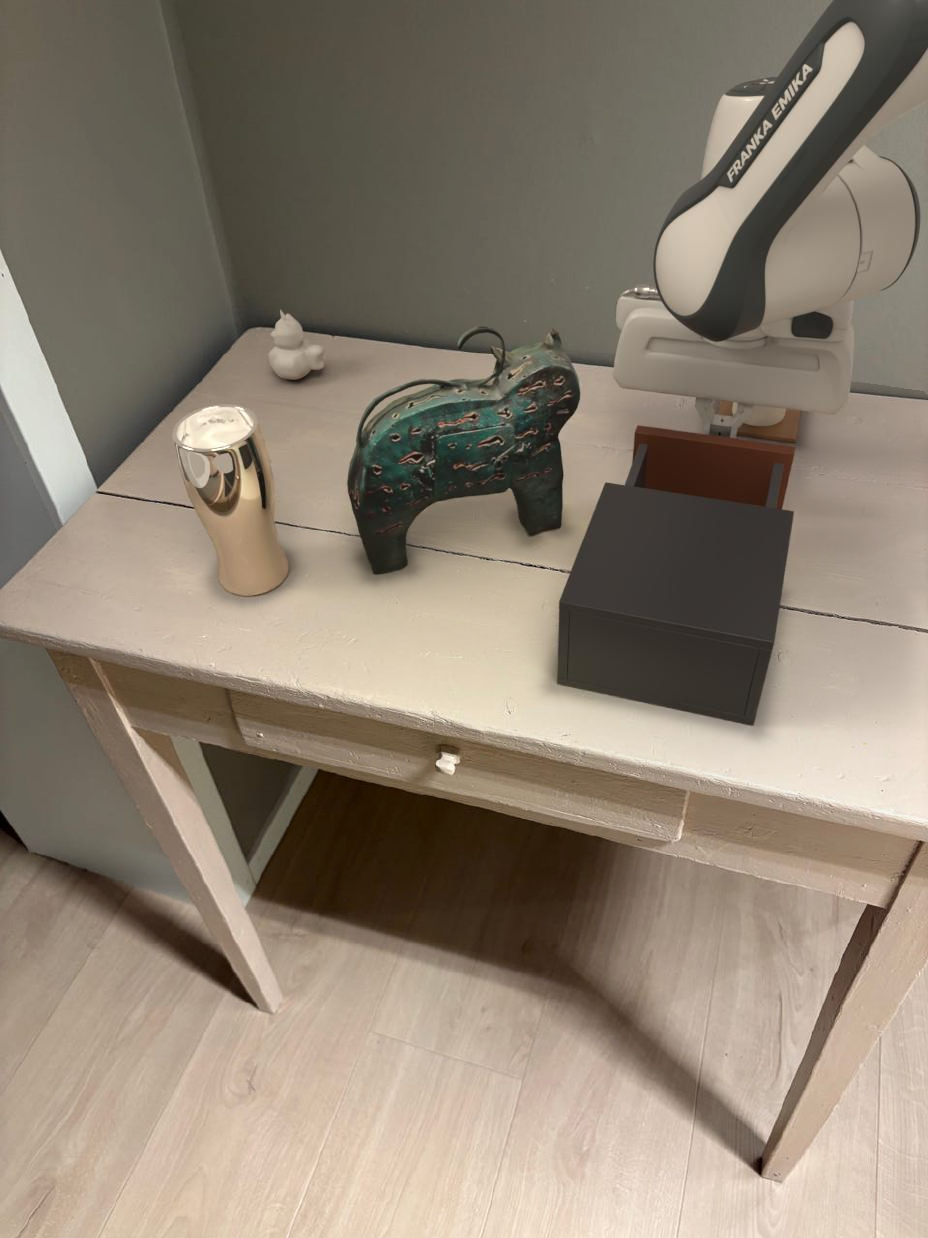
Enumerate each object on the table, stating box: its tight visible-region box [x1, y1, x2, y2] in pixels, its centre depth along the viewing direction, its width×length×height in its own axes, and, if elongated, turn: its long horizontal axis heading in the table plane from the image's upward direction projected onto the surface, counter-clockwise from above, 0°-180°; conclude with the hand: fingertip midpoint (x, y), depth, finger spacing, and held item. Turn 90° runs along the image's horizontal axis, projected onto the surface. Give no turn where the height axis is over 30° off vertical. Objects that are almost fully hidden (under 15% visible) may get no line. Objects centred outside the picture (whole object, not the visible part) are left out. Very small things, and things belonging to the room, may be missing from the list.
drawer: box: [624, 424, 796, 509], centre depth 82 cm, size 18×13×7 cm
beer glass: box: [171, 403, 290, 597], centre depth 79 cm, size 7×7×15 cm
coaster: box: [716, 401, 802, 444], centre depth 98 cm, size 8×8×1 cm
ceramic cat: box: [346, 325, 581, 575], centre depth 79 cm, size 20×6×20 cm, turn 108°
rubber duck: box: [267, 308, 325, 381], centre depth 106 cm, size 5×7×8 cm
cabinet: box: [556, 482, 795, 726], centre depth 73 cm, size 15×15×9 cm
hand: (719, 437), depth 89 cm, fingers closed
